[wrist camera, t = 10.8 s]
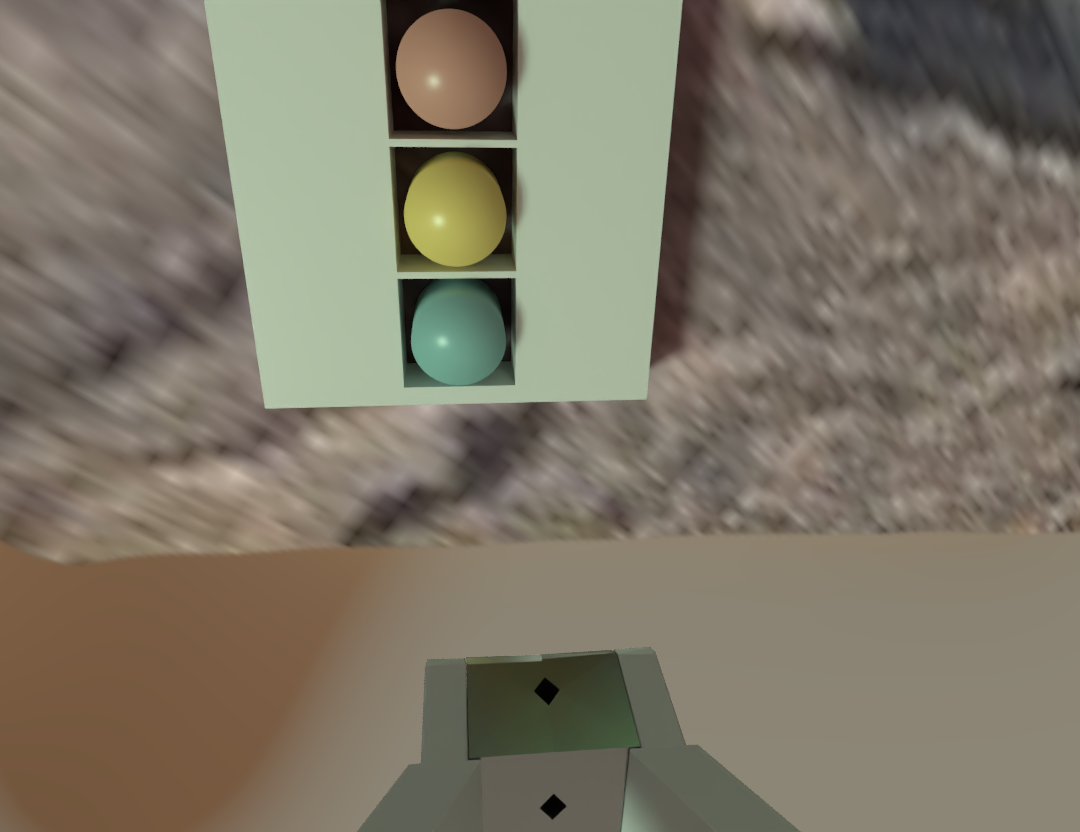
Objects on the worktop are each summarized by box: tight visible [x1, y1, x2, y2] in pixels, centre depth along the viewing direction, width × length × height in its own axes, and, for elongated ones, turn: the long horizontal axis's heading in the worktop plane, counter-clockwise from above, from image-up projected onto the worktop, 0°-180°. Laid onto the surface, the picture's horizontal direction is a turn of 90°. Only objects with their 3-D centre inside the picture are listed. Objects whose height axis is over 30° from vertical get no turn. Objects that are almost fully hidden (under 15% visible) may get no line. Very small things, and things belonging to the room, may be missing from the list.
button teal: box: [411, 278, 506, 385], centre depth 36 cm, size 4×4×4 cm
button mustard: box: [404, 152, 507, 267], centre depth 34 cm, size 4×4×4 cm
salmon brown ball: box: [396, 9, 507, 129], centre depth 31 cm, size 4×4×4 cm
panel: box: [204, 0, 683, 408], centre depth 34 cm, size 18×18×3 cm
